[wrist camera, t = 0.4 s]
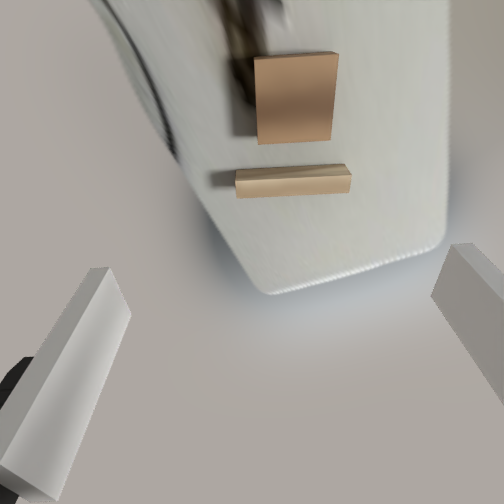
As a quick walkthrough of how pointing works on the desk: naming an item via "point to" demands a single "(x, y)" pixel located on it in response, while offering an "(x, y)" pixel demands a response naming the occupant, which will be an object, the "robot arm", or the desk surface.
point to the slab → (295, 97)
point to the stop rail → (292, 181)
